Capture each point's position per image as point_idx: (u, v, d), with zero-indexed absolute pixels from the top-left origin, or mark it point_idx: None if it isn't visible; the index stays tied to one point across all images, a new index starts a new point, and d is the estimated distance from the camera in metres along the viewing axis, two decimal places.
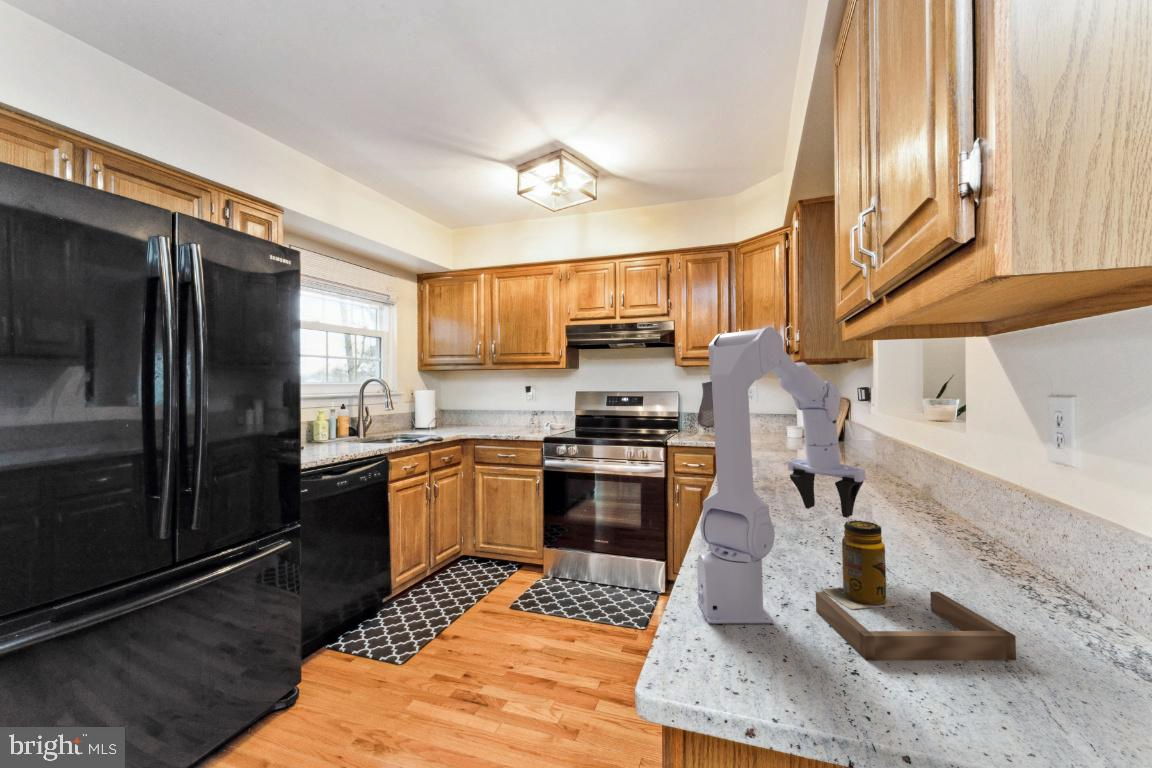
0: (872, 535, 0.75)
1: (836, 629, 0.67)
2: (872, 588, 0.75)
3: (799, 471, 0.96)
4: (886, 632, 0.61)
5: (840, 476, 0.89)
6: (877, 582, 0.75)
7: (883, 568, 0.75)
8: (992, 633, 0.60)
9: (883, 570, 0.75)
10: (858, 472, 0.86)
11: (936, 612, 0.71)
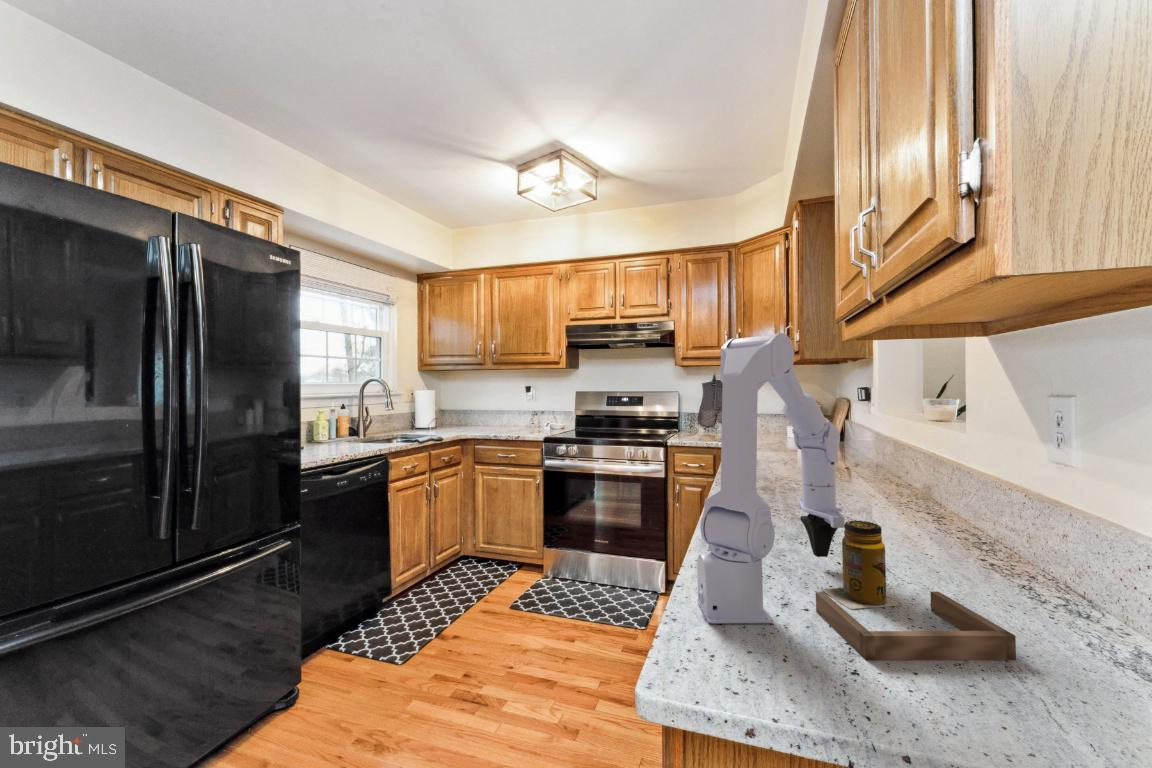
0: (872, 535, 0.75)
1: (836, 629, 0.67)
2: (872, 588, 0.75)
3: None
4: (886, 632, 0.61)
5: (826, 520, 0.88)
6: (877, 582, 0.75)
7: (883, 568, 0.75)
8: (992, 633, 0.60)
9: (883, 570, 0.75)
10: (833, 517, 0.84)
11: (936, 612, 0.71)
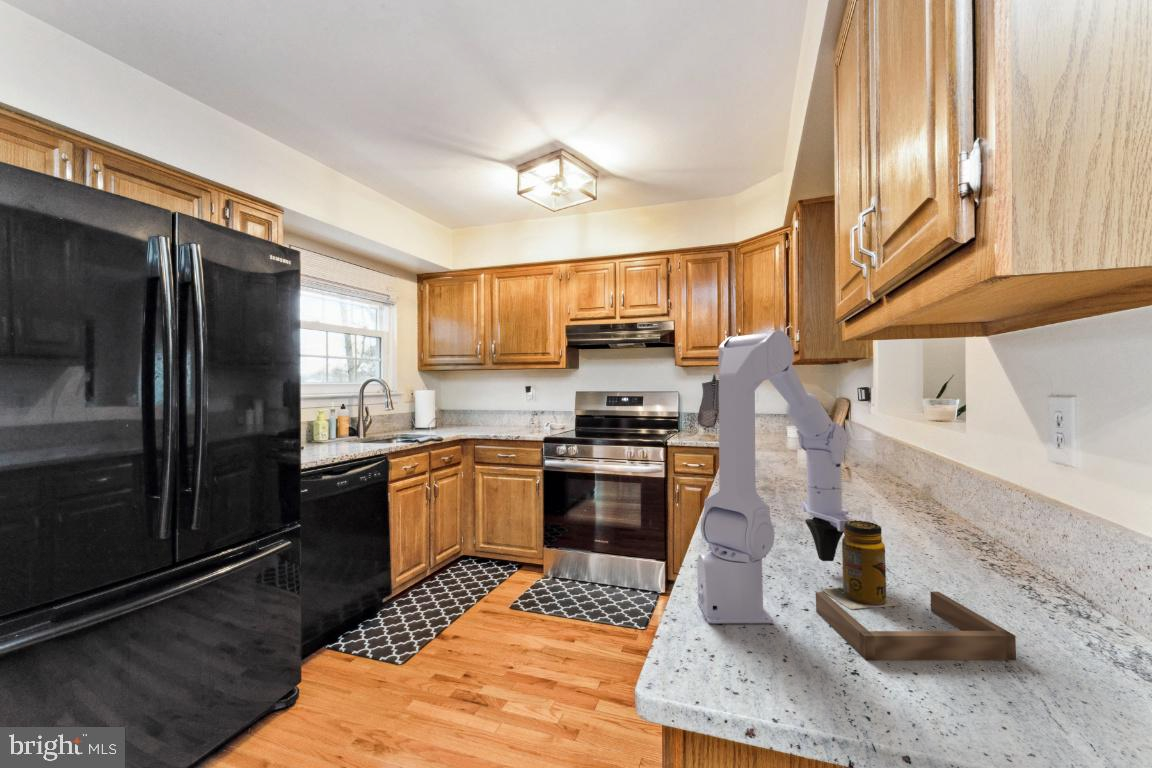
0: (872, 535, 0.75)
1: (836, 629, 0.67)
2: (872, 588, 0.75)
3: None
4: (886, 632, 0.61)
5: (832, 523, 0.85)
6: (877, 582, 0.75)
7: (883, 568, 0.75)
8: (992, 633, 0.60)
9: (883, 570, 0.75)
10: (839, 521, 0.82)
11: (936, 612, 0.71)
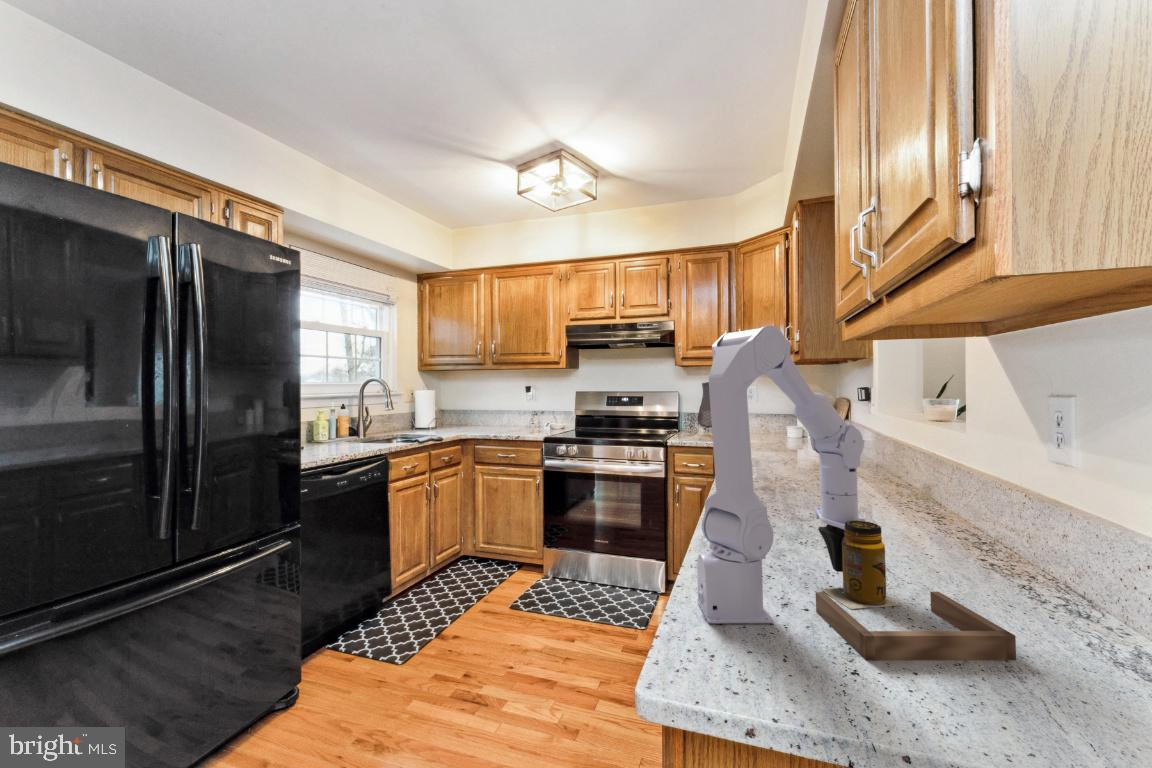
0: (872, 535, 0.75)
1: (836, 629, 0.67)
2: (872, 588, 0.75)
3: None
4: (886, 632, 0.61)
5: None
6: (877, 582, 0.75)
7: (883, 568, 0.75)
8: (992, 633, 0.60)
9: (883, 570, 0.75)
10: None
11: (936, 612, 0.71)
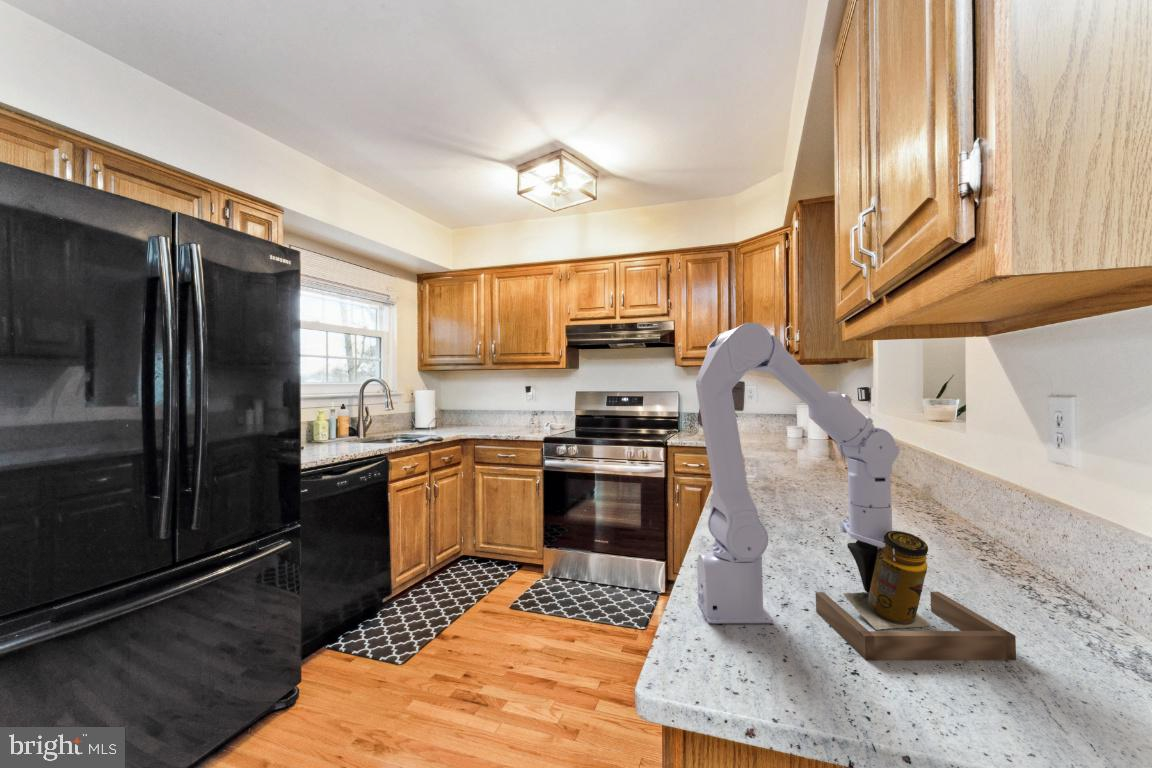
0: (917, 557, 0.66)
1: (836, 629, 0.67)
2: (904, 608, 0.67)
3: None
4: (886, 632, 0.61)
5: None
6: (911, 603, 0.67)
7: (920, 589, 0.67)
8: (992, 633, 0.60)
9: (920, 591, 0.67)
10: None
11: (936, 612, 0.71)
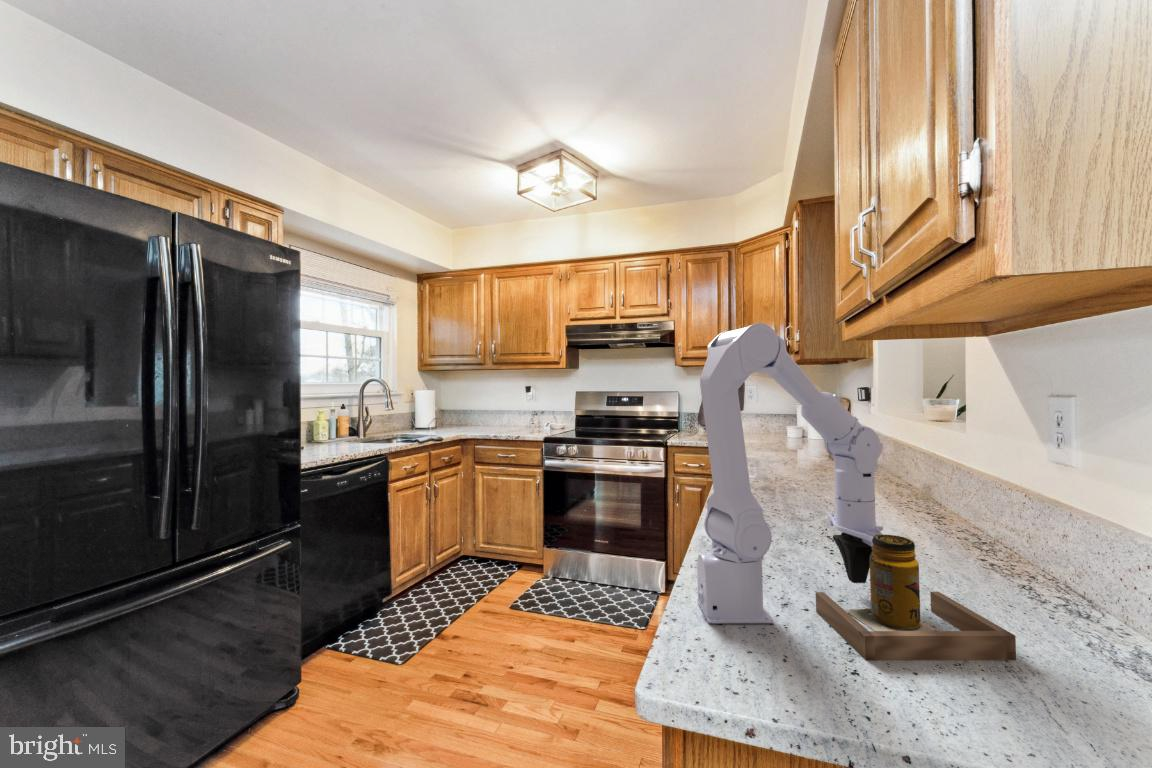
0: (905, 552, 0.67)
1: (836, 629, 0.67)
2: (905, 611, 0.67)
3: None
4: (886, 632, 0.61)
5: (865, 541, 0.75)
6: (911, 605, 0.67)
7: (917, 589, 0.67)
8: (992, 633, 0.60)
9: (917, 591, 0.67)
10: None
11: (936, 612, 0.71)
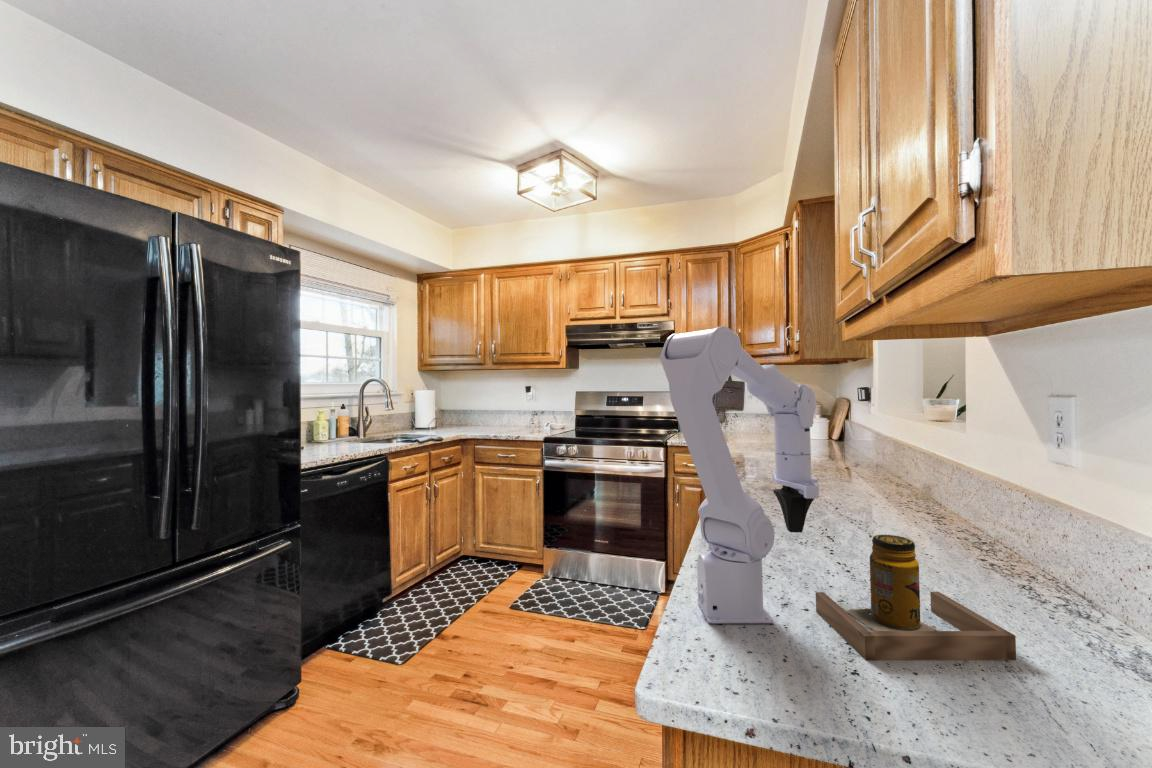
0: (905, 552, 0.67)
1: (836, 629, 0.67)
2: (905, 611, 0.67)
3: None
4: (886, 632, 0.61)
5: (799, 491, 0.80)
6: (911, 605, 0.67)
7: (917, 589, 0.67)
8: (992, 633, 0.60)
9: (917, 591, 0.67)
10: (806, 487, 0.76)
11: (936, 612, 0.71)
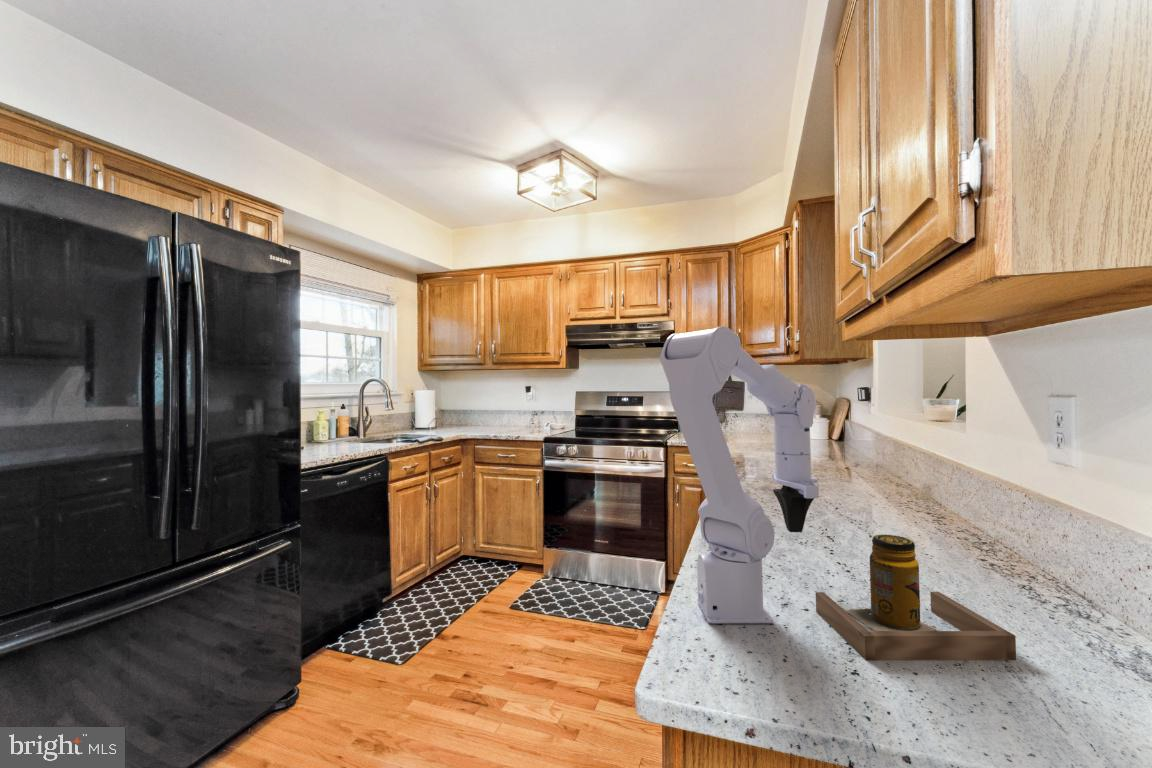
0: (905, 552, 0.67)
1: (836, 629, 0.67)
2: (905, 611, 0.67)
3: None
4: (886, 632, 0.61)
5: (799, 491, 0.80)
6: (911, 605, 0.67)
7: (917, 589, 0.67)
8: (992, 633, 0.60)
9: (917, 591, 0.67)
10: (806, 487, 0.76)
11: (936, 612, 0.71)
